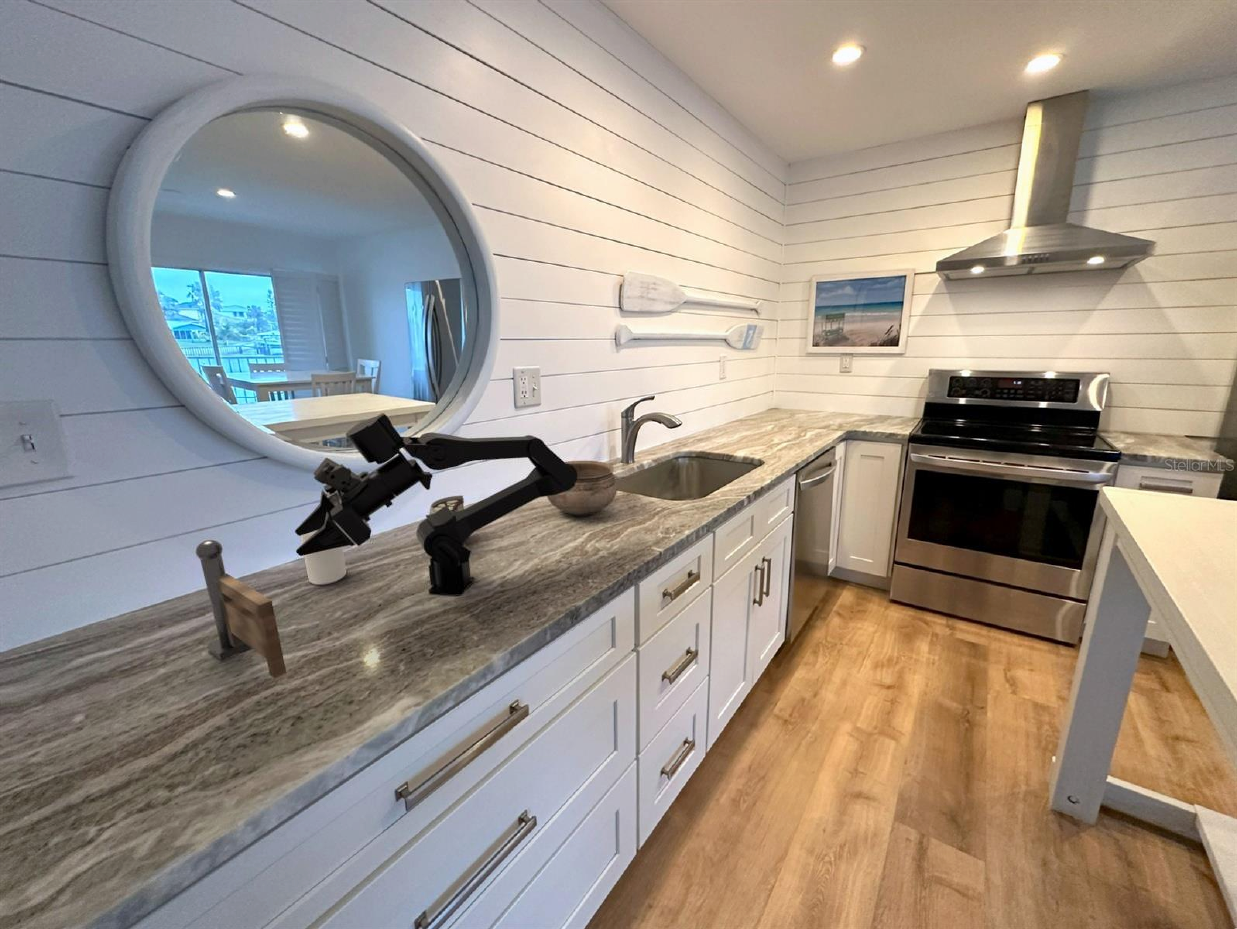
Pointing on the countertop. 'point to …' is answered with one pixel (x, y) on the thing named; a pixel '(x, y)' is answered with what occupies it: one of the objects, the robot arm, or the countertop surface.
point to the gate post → (216, 598)
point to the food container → (448, 504)
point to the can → (324, 564)
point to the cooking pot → (587, 489)
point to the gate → (251, 621)
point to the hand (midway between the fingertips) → (297, 543)
